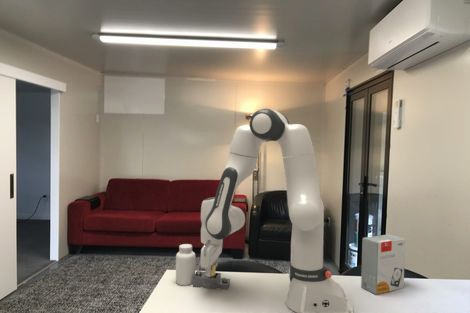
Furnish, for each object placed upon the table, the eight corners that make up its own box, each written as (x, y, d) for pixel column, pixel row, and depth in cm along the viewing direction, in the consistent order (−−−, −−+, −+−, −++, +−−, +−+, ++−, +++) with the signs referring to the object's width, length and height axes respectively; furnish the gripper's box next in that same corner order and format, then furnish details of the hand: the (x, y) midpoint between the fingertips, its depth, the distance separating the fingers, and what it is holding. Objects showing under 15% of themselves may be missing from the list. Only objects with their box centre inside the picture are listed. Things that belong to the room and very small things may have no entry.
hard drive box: (376, 295, 117) (376, 242, 116) (360, 287, 124) (360, 237, 123) (404, 288, 123) (405, 238, 123) (388, 280, 130) (388, 233, 130)
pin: (216, 283, 127) (216, 264, 127) (214, 287, 124) (214, 267, 124) (209, 283, 127) (209, 263, 127) (207, 286, 124) (207, 266, 124)
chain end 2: (230, 283, 127) (230, 276, 127) (227, 289, 121) (227, 282, 121) (206, 281, 129) (206, 274, 129) (202, 287, 123) (202, 280, 123)
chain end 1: (220, 282, 128) (220, 271, 128) (217, 288, 122) (217, 276, 122) (197, 280, 130) (197, 269, 130) (192, 286, 124) (192, 274, 124)
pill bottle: (191, 286, 124) (191, 249, 124) (172, 284, 126) (172, 248, 126) (197, 278, 132) (197, 243, 132) (180, 277, 134) (179, 242, 133)
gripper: (212, 245, 114) (212, 282, 115) (225, 231, 135) (225, 263, 135) (196, 244, 116) (196, 281, 116) (211, 230, 136) (211, 261, 136)
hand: (211, 271), depth 126 cm, fingers open, 8 cm apart
